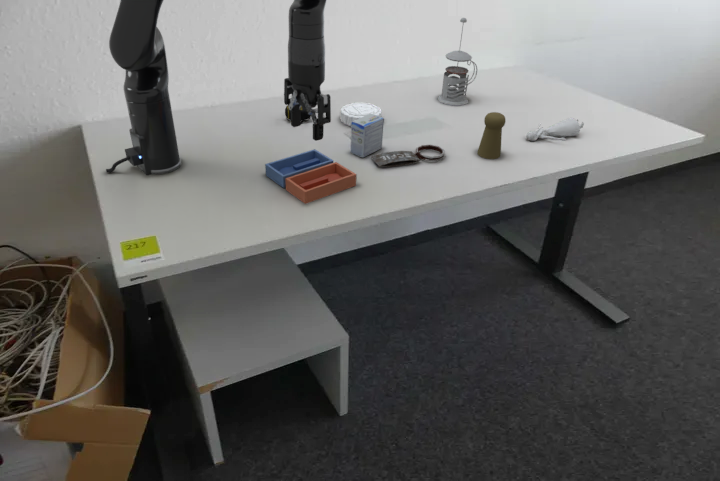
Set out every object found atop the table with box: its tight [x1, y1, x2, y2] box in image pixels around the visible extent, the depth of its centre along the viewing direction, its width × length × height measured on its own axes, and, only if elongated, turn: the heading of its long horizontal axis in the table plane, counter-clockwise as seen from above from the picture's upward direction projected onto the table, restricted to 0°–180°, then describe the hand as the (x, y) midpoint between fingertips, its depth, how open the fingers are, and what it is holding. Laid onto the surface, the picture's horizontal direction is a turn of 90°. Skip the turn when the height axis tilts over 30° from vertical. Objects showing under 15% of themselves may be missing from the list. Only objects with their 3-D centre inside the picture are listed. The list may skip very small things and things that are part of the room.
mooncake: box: [339, 102, 383, 127], centre depth 160 cm, size 12×12×4 cm
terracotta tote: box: [285, 161, 357, 205], centre depth 126 cm, size 14×8×3 cm, turn 129°
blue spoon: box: [280, 158, 320, 175], centre depth 131 cm, size 11×4×2 cm, turn 130°
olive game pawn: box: [476, 111, 506, 160], centre depth 141 cm, size 6×6×11 cm
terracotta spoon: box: [299, 174, 341, 190], centre depth 126 cm, size 11×4×2 cm, turn 129°
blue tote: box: [264, 148, 334, 189], centre depth 131 cm, size 14×8×3 cm, turn 129°
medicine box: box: [350, 114, 385, 159], centre depth 141 cm, size 8×4×9 cm, turn 141°
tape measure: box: [284, 105, 312, 122], centre depth 159 cm, size 7×7×4 cm
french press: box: [437, 17, 478, 106], centre depth 170 cm, size 10×12×25 cm
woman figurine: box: [525, 117, 585, 142], centre depth 154 cm, size 12×4×18 cm
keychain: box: [370, 144, 446, 168], centre depth 140 cm, size 8×19×2 cm, turn 110°
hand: (306, 132), depth 121 cm, fingers open, 8 cm apart
